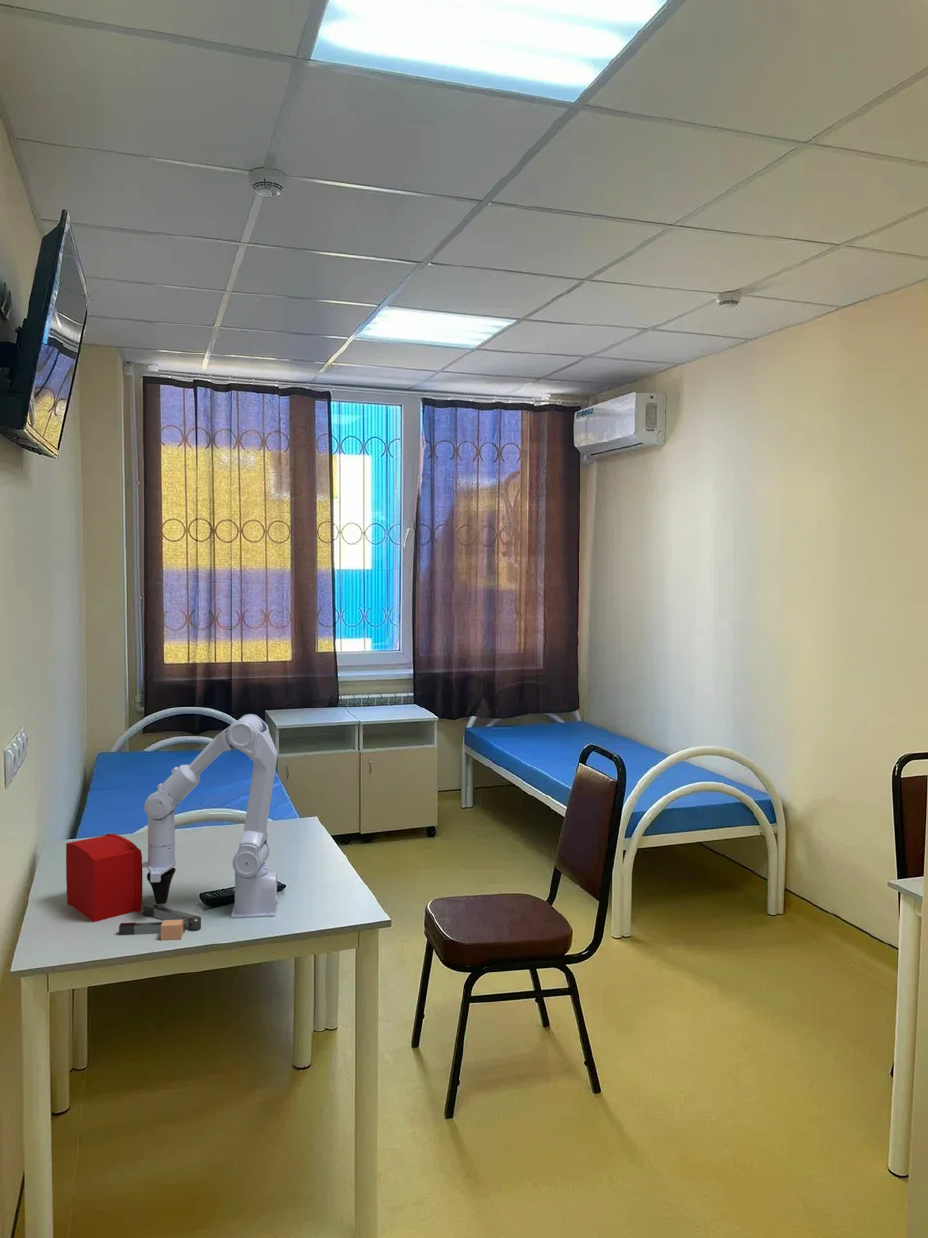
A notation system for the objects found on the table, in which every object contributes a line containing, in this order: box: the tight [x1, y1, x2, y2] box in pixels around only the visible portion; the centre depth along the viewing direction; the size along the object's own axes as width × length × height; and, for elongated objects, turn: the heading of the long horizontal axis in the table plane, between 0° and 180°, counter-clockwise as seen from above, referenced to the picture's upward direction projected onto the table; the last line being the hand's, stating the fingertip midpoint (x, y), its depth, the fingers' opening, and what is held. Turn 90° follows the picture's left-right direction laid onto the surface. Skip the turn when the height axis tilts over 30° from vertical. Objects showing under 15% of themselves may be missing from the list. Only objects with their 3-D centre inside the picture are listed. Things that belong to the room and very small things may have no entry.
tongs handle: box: [118, 921, 187, 936], centre depth 187 cm, size 13×2×2 cm, turn 99°
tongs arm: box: [142, 902, 202, 932], centre depth 193 cm, size 16×3×2 cm, turn 64°
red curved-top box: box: [65, 833, 143, 923], centre depth 201 cm, size 16×11×15 cm
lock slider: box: [160, 920, 184, 941], centre depth 185 cm, size 4×3×3 cm
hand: (161, 903), depth 200 cm, fingers closed
